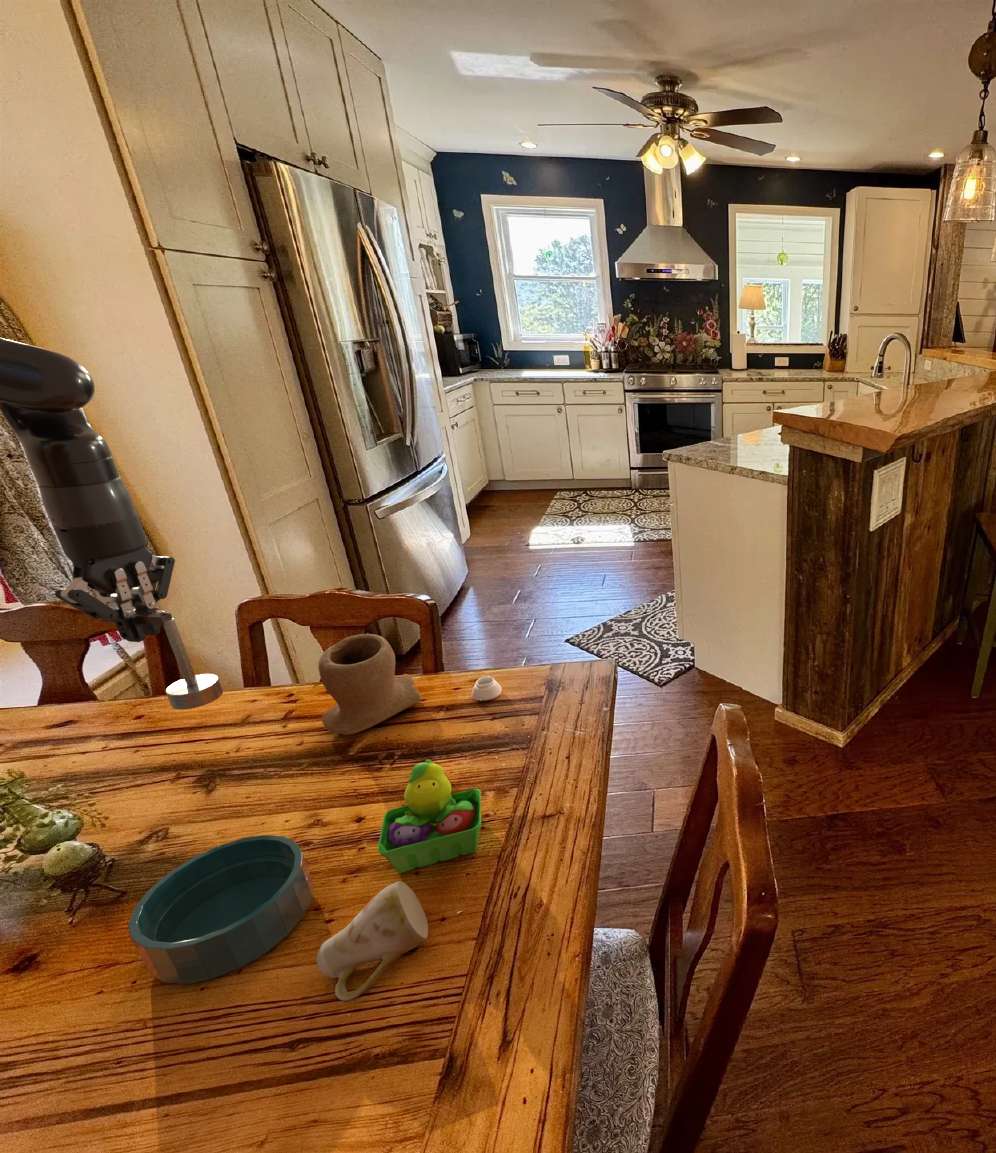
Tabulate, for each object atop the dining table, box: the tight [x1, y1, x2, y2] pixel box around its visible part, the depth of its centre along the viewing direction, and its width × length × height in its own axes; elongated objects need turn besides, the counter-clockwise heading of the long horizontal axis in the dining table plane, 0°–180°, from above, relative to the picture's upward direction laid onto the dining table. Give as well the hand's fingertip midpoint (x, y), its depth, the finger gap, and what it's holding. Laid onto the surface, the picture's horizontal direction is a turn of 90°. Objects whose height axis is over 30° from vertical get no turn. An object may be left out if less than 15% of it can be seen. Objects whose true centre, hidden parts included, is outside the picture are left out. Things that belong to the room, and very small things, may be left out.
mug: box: [316, 880, 429, 1002], centre depth 65 cm, size 8×10×10 cm
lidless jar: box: [471, 676, 503, 702], centre depth 111 cm, size 5×3×5 cm
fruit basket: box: [377, 759, 482, 874], centre depth 78 cm, size 11×9×11 cm
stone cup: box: [317, 633, 423, 736], centre depth 103 cm, size 15×12×15 cm
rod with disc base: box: [99, 611, 224, 711], centre depth 85 cm, size 12×6×13 cm, turn 86°
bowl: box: [127, 834, 315, 985], centre depth 68 cm, size 14×14×6 cm
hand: (143, 636), depth 84 cm, fingers closed on rod with disc base, 1 cm apart
